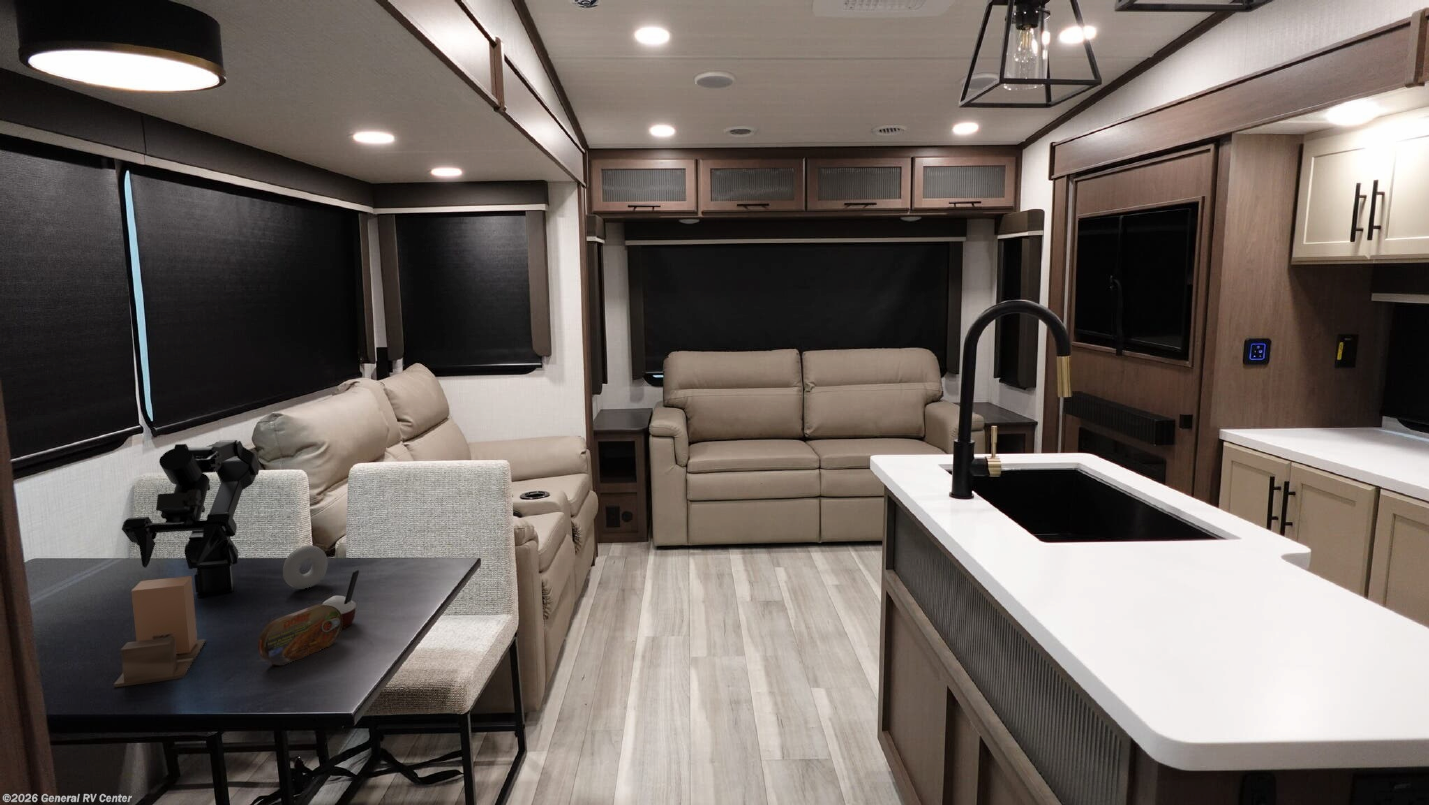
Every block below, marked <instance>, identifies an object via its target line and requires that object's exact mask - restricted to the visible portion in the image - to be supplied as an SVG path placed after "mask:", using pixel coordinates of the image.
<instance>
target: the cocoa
mask: <svg viewBox="0 0 1429 805" xmlns="http://www.w3.org/2000/svg"><path fill="white" fill-rule="evenodd" d="M359 572H360V570H359V569H358V570H355V571H353V572H352V574H351V578H350V581H349V585H348V588H347V591H346V594H345V596H344V595H333V596H332V597H329V598H328V599H326V600H325V601H323V603H322V604H321V605H329V606H333V607H335V608H337V609H338V610H339V611H340V613H341V615H342V618H343V626H342V628H343V629H345V628H344V627H346V628H347V627H349V626H350V625H352V623H353V621H354V620H355V617H356V607H357V604H356V602H355V601H353V600H352V598H353V595H354V591H355V587H356V584H357V580H358V576H359Z"/></svg>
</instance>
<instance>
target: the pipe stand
mask: <svg viewBox="0 0 1429 805" xmlns="http://www.w3.org/2000/svg"><path fill="white" fill-rule="evenodd" d="M197 640H198V641H197V643H196V644H195V646H194V647H193V648H192V650H191V651H190V652H189V653H181V654H176V647H175V637H167V638H159V639H151V640H143V641H136V640H134V641H127V642H126V643H125V644H124V645H123V647H122V648H120V654H121V655H120V657H121V664H122V674H121V675H120V676H119V677H118V678H117V680H116V681H115V682H114V683H113V688H120V687H121V688H122V687H128V686H134V685H143V684H150V683H155V682H164V681H171V680H179V679H180V680H181V679H183V678H184V676H185V675H186V673H187V672H188V671H187V670H189V669H190V668H191V666H190V665H193V663H194V661H195V660H196V658H197V657H198V655H199V654H200V652H201V651H200V649H201V648H202V647H203V648H204V646H205V645H204V643H205V642H207V639H206V638H203V639H197ZM205 644H206V643H205ZM203 645H204V646H203ZM203 648H202V649H203ZM202 649H201V650H202ZM198 653H199V654H198ZM197 654H198V655H197ZM196 656H197V657H196ZM194 659H195V660H194ZM192 662H193V663H192ZM188 668H189V669H188Z"/></svg>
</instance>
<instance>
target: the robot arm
mask: <svg viewBox="0 0 1429 805" xmlns="http://www.w3.org/2000/svg"><path fill="white" fill-rule="evenodd" d="M158 461H159V462H158V463H159V465H160V467H161V469H162V470H163V472H164V474H165V475H166V477H167V478H168V480H169V481H170V483H171V484H173V485H175V488H174V490H173V492H172V493H171V492H168V493H158V494H157V496H156V498H157V499H156V507H155V510H156V512H160V513H161V514H160V517H161V518H162V519H164V520H165V522H164V521H163V522H153V521H152V520H151V518H150V517H149V516H139V517H129V518H126V519H125V520H124V521H123V523H122V526H121V530H122V532H123V533H124V535H125V536H126V537H127V538H128V539H129V541H130V542H131V543H135V544H136V545H137V546H138V547H139V552H140V560H141V565H142V567H143V568H147V567H148V565H149V563H150V561H151V557H152V555H153V551H154V549H155V545H156V542H155V539H156V538H157V534H159V533H161V534H162V533H163V534H164V533H175V532H176V533H177V532H179V533H180V532H181V533H183V532H191V533H190V536H189V537H188V542H186V544H185V546H184V556H185V560H186V563H187V567H188V570H194V569H196V571H195V573H194V575H193V576H194V588H195V593H197V597H198V598H202V597H210V596H215V595H217V596H218V595H222V594H223V595H224V594H229V593H232V592H233V590H234V581H233V573H232V566H233V565H235V564H238V563H239V550H238V547H237V546H236V545H235V543H234V541H233V540H232V539H231V537H235V535H236V533H237V529H238V527H237V526H238V525H237V523H236V521H235V520H234V515H235V513H236V510H237V506H238V503H239V501H240V498H241V495H242V493H243V491H244V490H245V489H246V488H248V487H250V486H251V485H253V483H254V481H255V480H256V477H257V476H258V475H259V472H260V465H259V461H258V460H257V457H256V455H255V452H252V450H249V449H248V448H246V447H244V445H243V443H242V441H241V440H238V439H231V440H230V439H223V440H222V439H221V440H218V441H216V442H214V443H212V444H208V445H206V446H195V447H194V446H192V447H188V445H187V443H178V444H177V443H176V444H175V445H174V448H172V449H169V450H167V451H166V452H164V453H163V454H162V455H161V456H160V457H159V459H158ZM207 473H216V475H217V477H218V479H219V483H220V484H219V487H218V490H217V492H216V495H215V497H214V500H213V503H212V505H211V507H210V511H209V513H208V514H207V516H206V519H204V520H203V519H201V517H202V514H203V513H205V511H206V507H205V502H206V497H207V493H208V491H210V490H211V485H210V482H211V481H210V478H209V476H208V475H207Z"/></svg>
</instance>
